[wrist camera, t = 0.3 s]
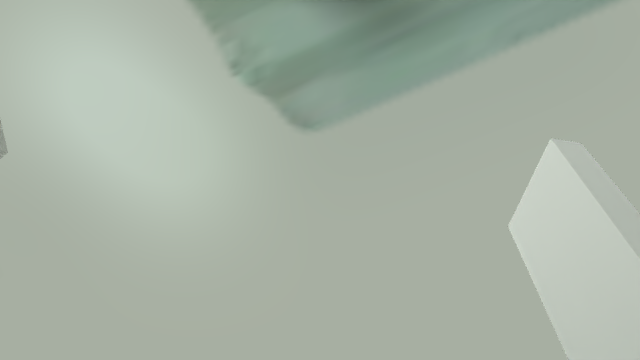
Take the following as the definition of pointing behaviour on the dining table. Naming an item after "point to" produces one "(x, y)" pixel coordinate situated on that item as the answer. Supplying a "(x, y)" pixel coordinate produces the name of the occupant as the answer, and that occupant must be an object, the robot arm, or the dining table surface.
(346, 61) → the dining table surface
